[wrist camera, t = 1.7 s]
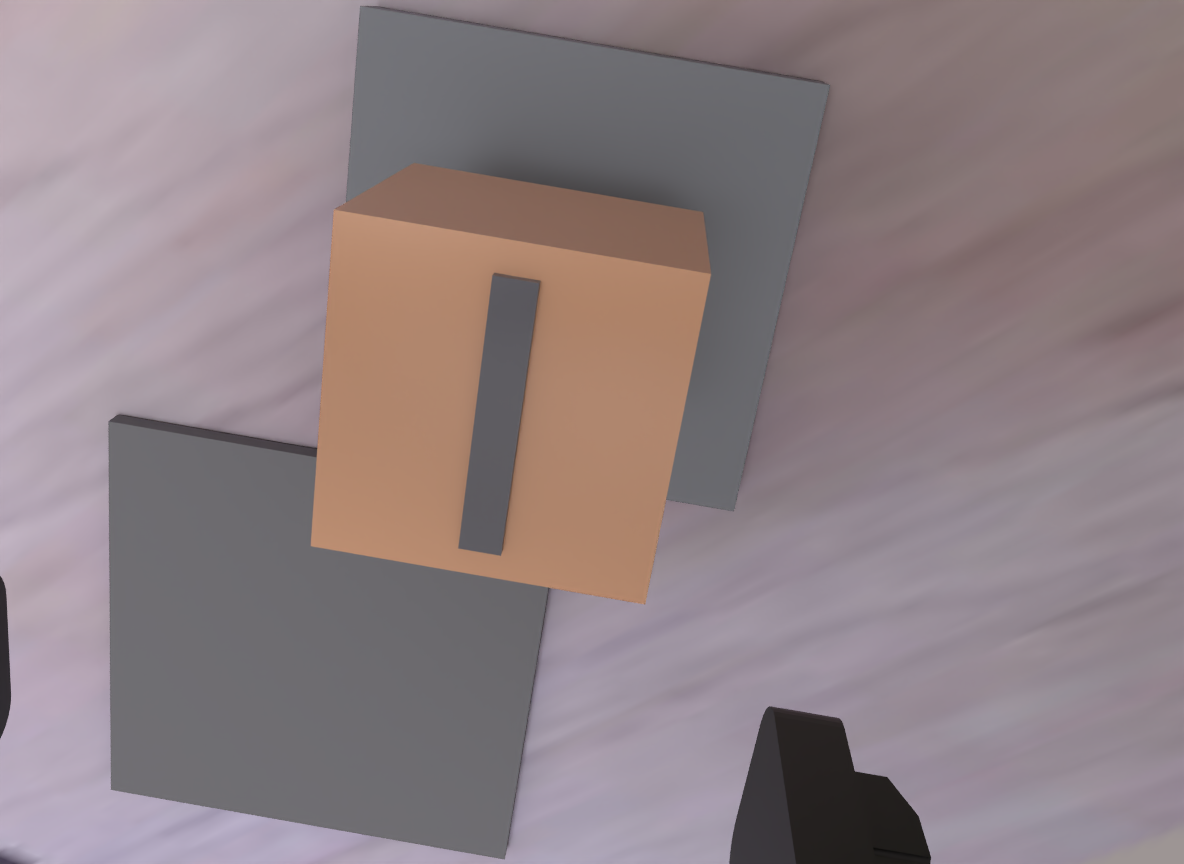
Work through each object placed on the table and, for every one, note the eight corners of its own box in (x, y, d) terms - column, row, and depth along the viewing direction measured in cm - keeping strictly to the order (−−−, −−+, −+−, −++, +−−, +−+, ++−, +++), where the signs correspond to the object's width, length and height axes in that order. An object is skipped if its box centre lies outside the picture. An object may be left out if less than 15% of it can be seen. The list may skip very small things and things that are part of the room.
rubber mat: (564, 491, 34) (562, 500, 33) (506, 847, 39) (504, 859, 38) (117, 414, 34) (108, 421, 33) (118, 778, 39) (111, 789, 39)
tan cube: (703, 211, 24) (711, 276, 18) (651, 477, 26) (645, 609, 20) (413, 162, 24) (330, 211, 18) (388, 432, 26) (307, 550, 21)
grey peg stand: (822, 81, 29) (913, 126, 18) (731, 490, 33) (758, 732, 22) (375, 6, 29) (187, 4, 18) (342, 423, 34) (176, 630, 22)
